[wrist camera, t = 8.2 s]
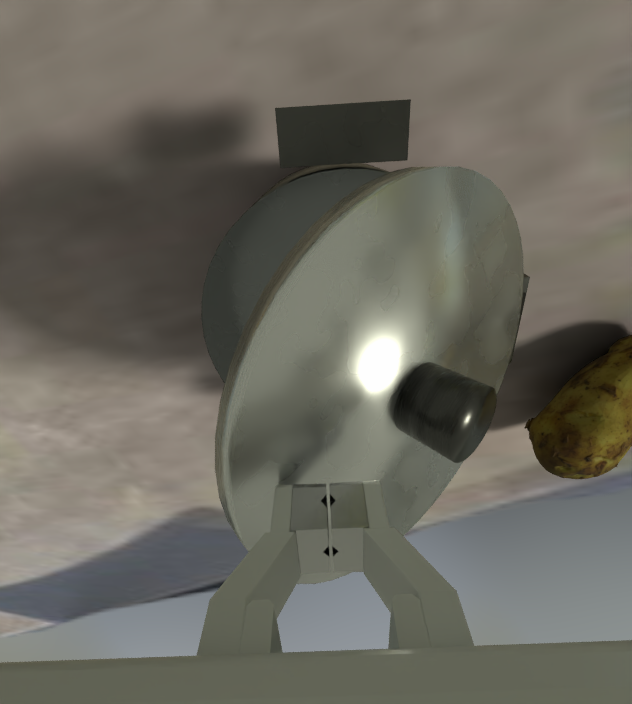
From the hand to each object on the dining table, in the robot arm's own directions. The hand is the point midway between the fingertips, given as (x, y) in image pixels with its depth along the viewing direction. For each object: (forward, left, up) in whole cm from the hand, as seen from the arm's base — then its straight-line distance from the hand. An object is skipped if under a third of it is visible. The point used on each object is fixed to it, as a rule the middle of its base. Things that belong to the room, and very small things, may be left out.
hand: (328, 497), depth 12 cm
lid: (0, +3, -5) cm, 6 cm away
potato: (+11, +22, -21) cm, 33 cm away
